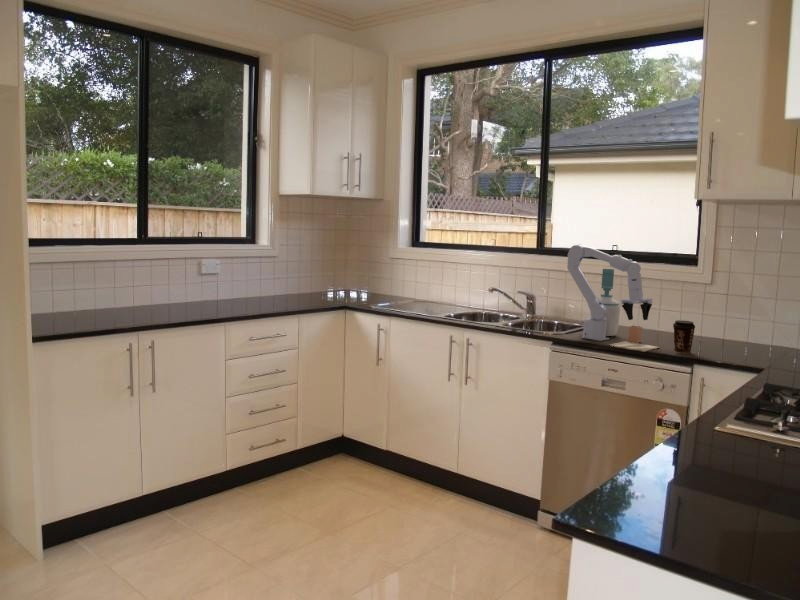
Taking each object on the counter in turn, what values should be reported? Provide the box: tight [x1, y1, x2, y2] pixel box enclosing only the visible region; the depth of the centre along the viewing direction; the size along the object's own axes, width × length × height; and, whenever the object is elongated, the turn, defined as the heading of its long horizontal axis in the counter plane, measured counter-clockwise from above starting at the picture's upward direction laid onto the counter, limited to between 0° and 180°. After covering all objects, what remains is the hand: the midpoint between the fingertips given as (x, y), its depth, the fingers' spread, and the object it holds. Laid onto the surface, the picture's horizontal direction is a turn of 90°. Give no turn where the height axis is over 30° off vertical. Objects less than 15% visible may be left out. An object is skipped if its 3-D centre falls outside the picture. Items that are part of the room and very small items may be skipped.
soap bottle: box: [590, 268, 620, 337], centre depth 320 cm, size 12×12×31 cm
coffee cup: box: [672, 319, 696, 355], centre depth 283 cm, size 9×8×13 cm
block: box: [627, 324, 643, 344], centre depth 304 cm, size 4×4×8 cm
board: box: [609, 341, 661, 353], centre depth 293 cm, size 16×14×1 cm
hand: (638, 319), depth 302 cm, fingers open, 7 cm apart
